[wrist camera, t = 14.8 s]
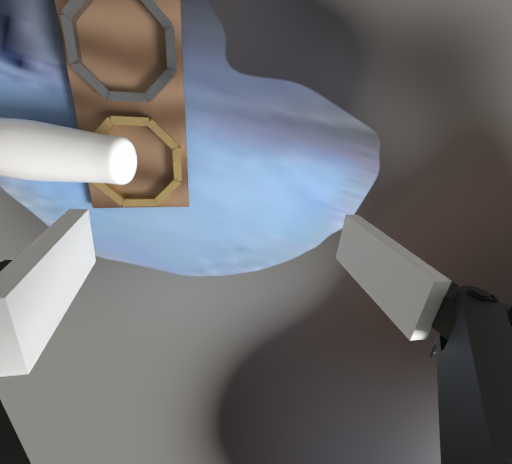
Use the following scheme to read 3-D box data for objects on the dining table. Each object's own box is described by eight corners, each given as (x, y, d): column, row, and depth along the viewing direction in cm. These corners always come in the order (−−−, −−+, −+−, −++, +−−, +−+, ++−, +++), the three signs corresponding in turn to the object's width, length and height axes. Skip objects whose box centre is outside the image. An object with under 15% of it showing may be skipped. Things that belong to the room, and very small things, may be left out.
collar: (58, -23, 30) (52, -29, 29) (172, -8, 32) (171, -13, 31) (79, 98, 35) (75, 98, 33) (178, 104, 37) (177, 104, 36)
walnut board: (53, -28, 31) (48, -32, 30) (179, -11, 33) (179, -15, 32) (95, 205, 41) (92, 207, 40) (188, 203, 44) (188, 206, 43)
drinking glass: (117, 201, 31) (-10, 186, 32) (145, 179, 37) (36, 166, 38) (104, 138, 28) (-39, 123, 29) (137, 124, 33) (17, 111, 35)
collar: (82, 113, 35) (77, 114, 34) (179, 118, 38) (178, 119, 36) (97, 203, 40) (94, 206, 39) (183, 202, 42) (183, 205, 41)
